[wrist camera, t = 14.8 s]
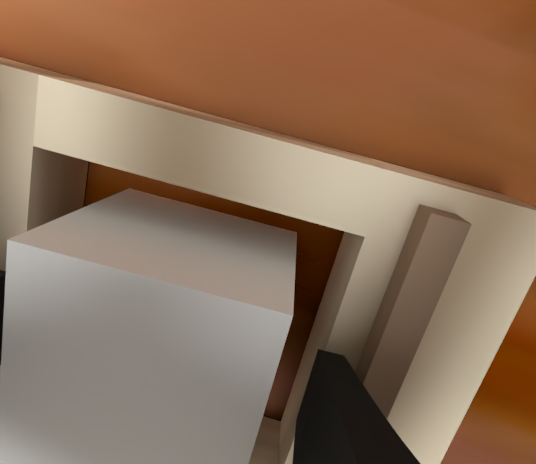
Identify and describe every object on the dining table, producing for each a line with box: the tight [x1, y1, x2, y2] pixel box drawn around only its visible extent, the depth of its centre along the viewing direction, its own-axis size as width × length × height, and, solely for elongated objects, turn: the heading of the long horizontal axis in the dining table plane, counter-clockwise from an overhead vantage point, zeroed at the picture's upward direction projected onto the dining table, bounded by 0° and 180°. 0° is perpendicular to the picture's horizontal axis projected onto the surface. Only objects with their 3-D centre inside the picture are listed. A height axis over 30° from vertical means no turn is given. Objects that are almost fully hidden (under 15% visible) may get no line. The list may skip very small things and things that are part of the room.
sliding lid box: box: [0, 57, 536, 464], centre depth 12 cm, size 15×18×3 cm
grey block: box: [0, 188, 297, 464], centre depth 10 cm, size 5×5×5 cm
